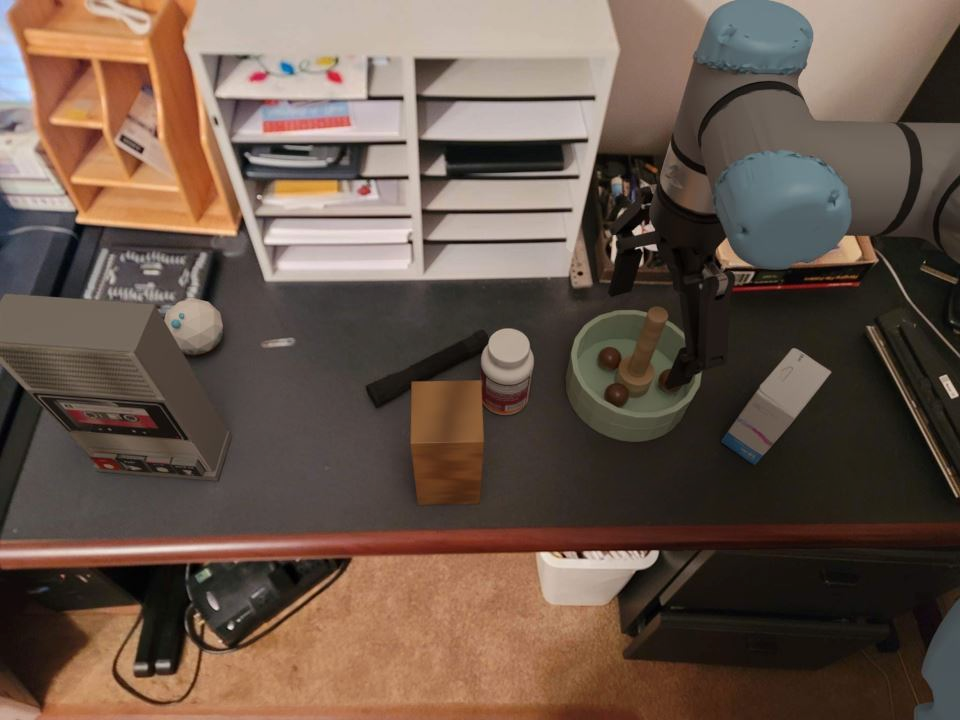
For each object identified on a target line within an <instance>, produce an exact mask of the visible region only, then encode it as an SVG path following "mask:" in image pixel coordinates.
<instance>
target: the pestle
mask: <svg viewBox="0 0 960 720" xmlns="http://www.w3.org/2000/svg"><path fill="white" fill-rule="evenodd" d="M646 313H647V316H646V319H645V322H644V324H643V327H642V330H641V333H640V335H639V338H638V341H637V344H636V346H635V349H634V352H633V355H631V356H627V357H625V358H624V359H622V361H621V362H620V364H619V367H618V369H617V372H616V375H615V379H614V383H620V384H623V385H624V386H625V387H626V388H627V389H628V391H629V397H630V398H638V397H641V396H643V395H645V394H646V393H647V392H648V390H649V387H650V385H651V383H652V380H653V378H654V375H655V370H654V367H653V365H652V364H651V362H650V361H651V358H652V356H653V353H654V351H655V348H656V346H657V343H658V341H659V338H660V336H661V334H662V331H663V329H664V326H665V324H666V321H668V319H669V313H668V311H667V310H666V309H665V308H663V307H661V306H657V305H656V306H651V307H650V308H649V309H648V311H647V312H646Z"/></svg>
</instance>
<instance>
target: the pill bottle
mask: <svg viewBox="0 0 960 720" xmlns="http://www.w3.org/2000/svg"><path fill="white" fill-rule="evenodd" d="M534 367H535V357H534V353H533V351H532V349H531V344H530V340H529V338H528V337H527V336H526V335H525V334H524V333H523V332H522V331H520V330H518V329H515V328H510V327H509V328H501V329H498V330H497V331H495V332H494V333H493V334H491V336H490V337H489V342H488V345H487V346H486V347H485V349H484V350H483V351H482V353H481V357H480V373H479V374H480V375H479V380H481V386H482V405H483V406H484V407H485V408H486V409H487V410H489V411H490V412H492V413H494V414H496V415H499V416H511V415H514V414H517V413H519V412H520V411H522V410H523V409H524V408H525V406H526V405H527V404H528V402H529V399H530V395H531V394H530V393H531V388H532V387H531V386H532V380H533V374H534V369H535V368H534Z"/></svg>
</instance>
